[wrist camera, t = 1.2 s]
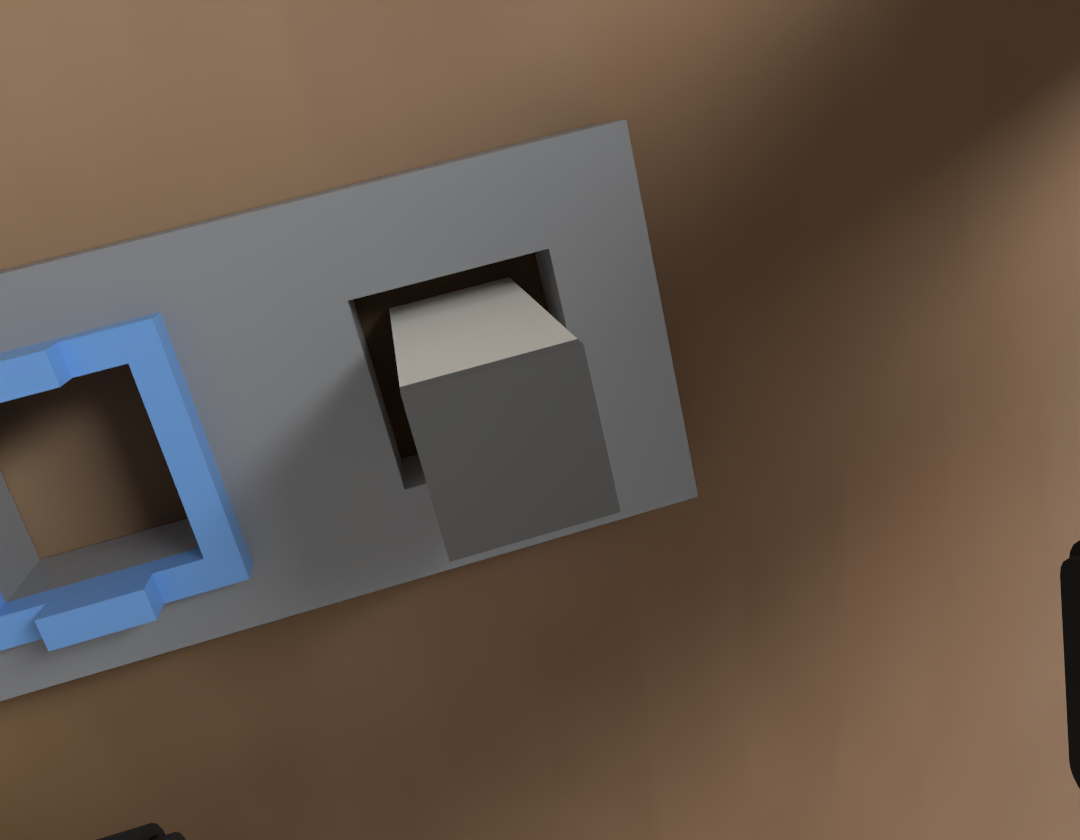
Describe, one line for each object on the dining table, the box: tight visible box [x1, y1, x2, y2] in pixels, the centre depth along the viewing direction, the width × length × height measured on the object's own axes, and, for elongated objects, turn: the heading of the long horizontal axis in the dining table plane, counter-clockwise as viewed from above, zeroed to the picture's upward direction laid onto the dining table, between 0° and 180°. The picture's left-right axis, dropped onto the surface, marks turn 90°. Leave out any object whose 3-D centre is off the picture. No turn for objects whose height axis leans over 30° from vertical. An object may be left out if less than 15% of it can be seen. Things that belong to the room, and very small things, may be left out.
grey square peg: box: [389, 277, 621, 562], centre depth 25 cm, size 4×4×11 cm
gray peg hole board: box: [0, 119, 698, 701], centre depth 27 cm, size 24×12×5 cm, turn 103°
